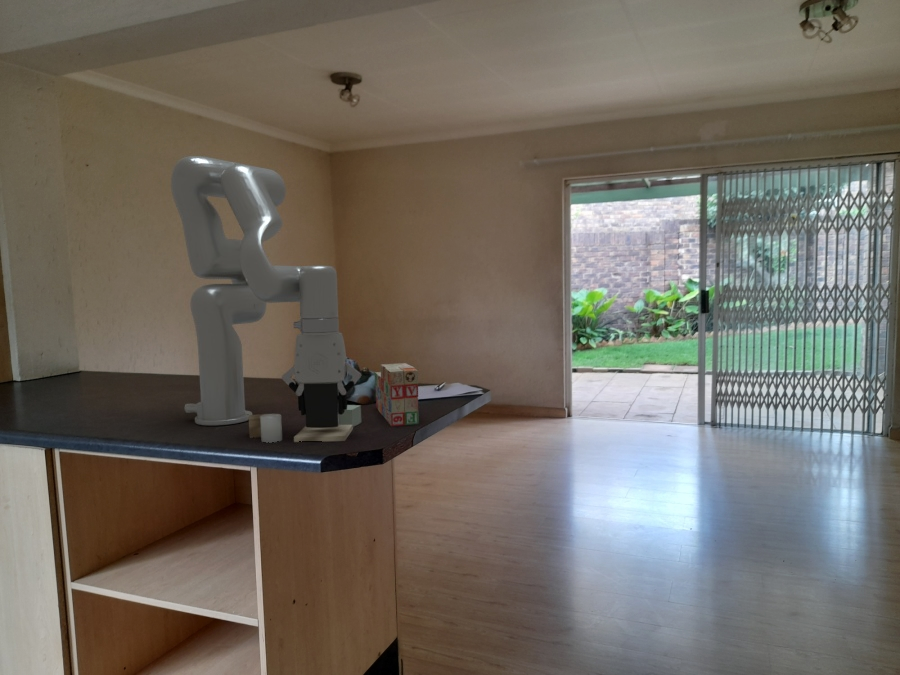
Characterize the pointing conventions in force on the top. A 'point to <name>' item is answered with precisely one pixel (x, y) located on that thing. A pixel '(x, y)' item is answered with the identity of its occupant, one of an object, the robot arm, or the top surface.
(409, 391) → the stack of blocks
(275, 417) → the grey rounded block
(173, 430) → the top surface
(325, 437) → the birch coaster
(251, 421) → the oak block
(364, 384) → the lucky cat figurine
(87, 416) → the top surface
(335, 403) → the battery
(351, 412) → the sage block
